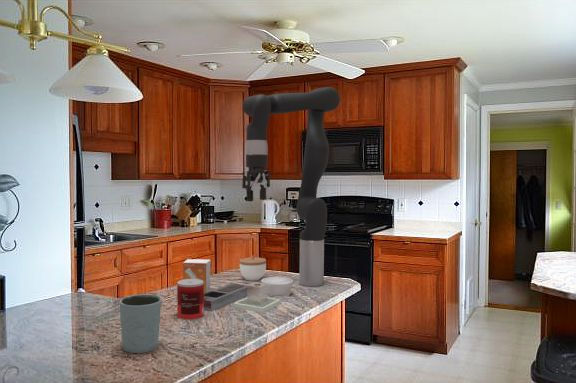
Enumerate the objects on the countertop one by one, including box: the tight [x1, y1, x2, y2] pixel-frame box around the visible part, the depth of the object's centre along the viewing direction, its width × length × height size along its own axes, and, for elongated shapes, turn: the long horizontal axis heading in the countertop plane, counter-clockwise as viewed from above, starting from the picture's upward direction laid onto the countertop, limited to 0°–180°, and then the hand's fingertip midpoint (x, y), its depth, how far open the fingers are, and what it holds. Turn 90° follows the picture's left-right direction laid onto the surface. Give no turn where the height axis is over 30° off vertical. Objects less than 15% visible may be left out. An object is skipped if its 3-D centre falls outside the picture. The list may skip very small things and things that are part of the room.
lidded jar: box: [239, 255, 267, 282], centre depth 196 cm, size 11×11×9 cm
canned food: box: [176, 279, 205, 320], centre depth 145 cm, size 8×8×11 cm
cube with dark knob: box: [246, 282, 268, 307], centre depth 155 cm, size 5×5×7 cm
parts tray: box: [232, 297, 282, 314], centre depth 156 cm, size 11×11×2 cm
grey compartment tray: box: [204, 283, 248, 312], centre depth 161 cm, size 22×8×4 cm, turn 152°
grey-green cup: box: [118, 293, 163, 354], centre depth 122 cm, size 10×10×12 cm
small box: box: [182, 258, 212, 293], centre depth 167 cm, size 8×6×13 cm
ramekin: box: [260, 276, 294, 297], centre depth 173 cm, size 11×11×5 cm
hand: (256, 200), depth 170 cm, fingers open, 8 cm apart
